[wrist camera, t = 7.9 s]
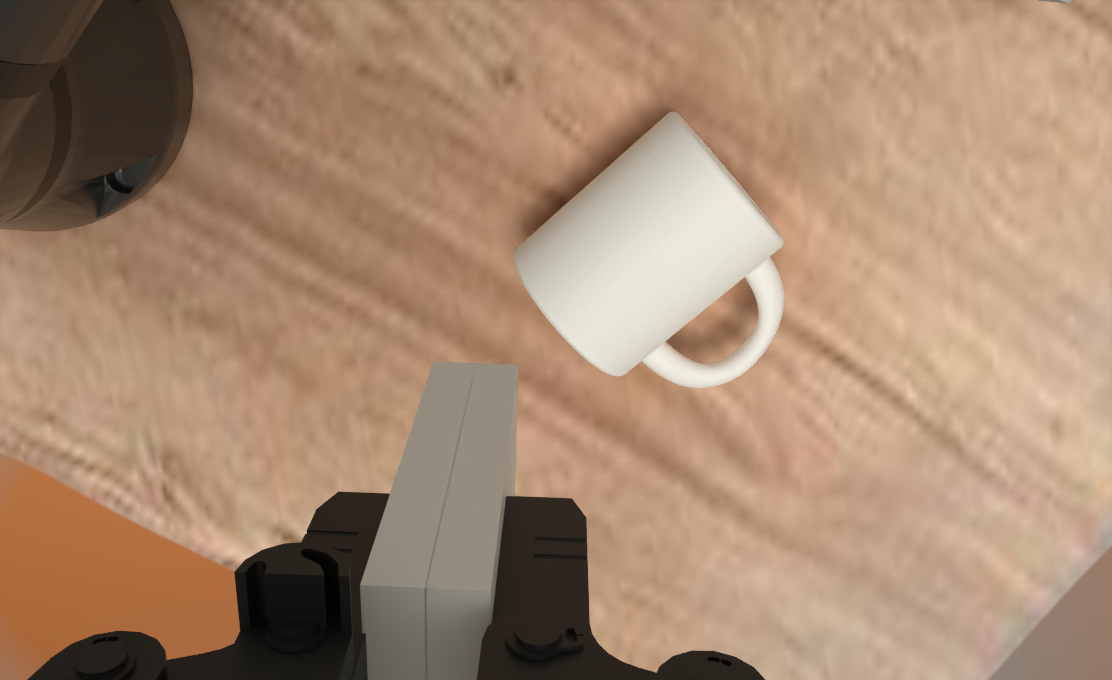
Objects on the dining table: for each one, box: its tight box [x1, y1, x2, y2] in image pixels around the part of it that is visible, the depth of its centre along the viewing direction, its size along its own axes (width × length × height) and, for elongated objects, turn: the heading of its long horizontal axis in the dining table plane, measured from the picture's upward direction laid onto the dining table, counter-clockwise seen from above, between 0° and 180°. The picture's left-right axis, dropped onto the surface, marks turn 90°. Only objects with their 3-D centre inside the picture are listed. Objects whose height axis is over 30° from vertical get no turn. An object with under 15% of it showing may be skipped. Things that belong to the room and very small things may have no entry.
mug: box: [514, 111, 784, 388], centre depth 46 cm, size 12×10×8 cm
